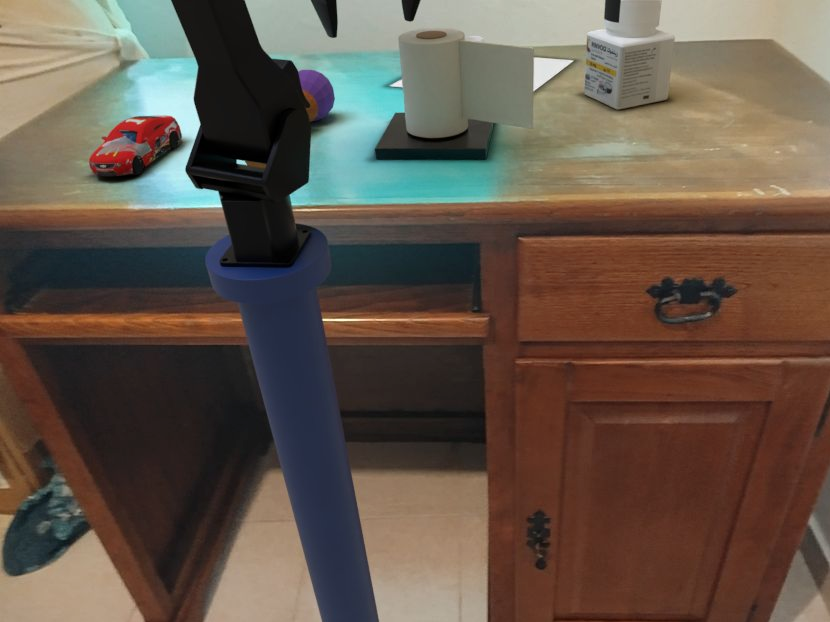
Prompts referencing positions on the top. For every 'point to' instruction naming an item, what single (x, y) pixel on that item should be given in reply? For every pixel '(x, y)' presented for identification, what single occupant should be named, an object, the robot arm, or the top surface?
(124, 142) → the race car
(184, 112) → the top surface
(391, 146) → the holder
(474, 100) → the towel roll
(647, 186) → the top surface
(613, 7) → the container
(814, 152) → the top surface
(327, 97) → the kendama
